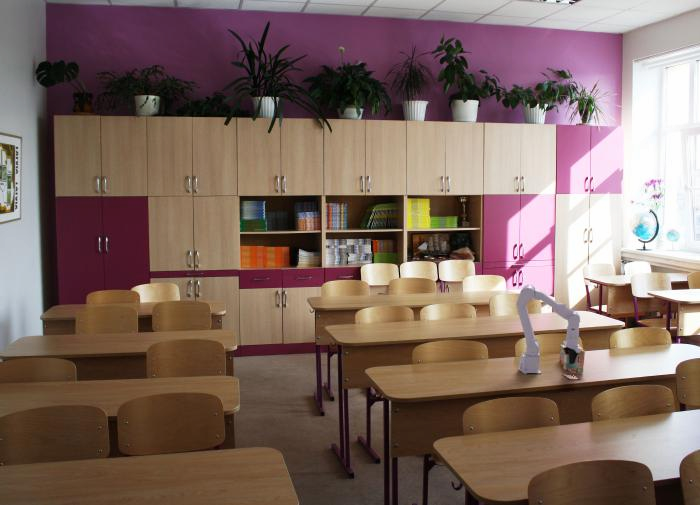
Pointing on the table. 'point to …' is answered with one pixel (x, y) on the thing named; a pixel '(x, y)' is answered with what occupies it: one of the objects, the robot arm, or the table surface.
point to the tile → (567, 363)
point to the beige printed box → (579, 360)
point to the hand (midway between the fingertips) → (570, 362)
